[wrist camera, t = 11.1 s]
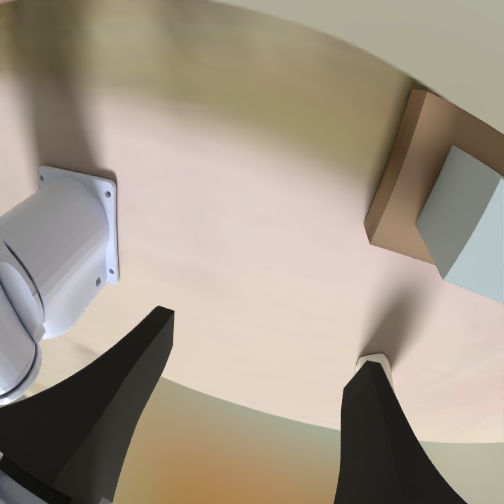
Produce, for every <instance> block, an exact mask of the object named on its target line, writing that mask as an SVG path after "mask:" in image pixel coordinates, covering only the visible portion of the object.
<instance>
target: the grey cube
mask: <svg viewBox="0 0 504 504" xmlns="http://www.w3.org/2000/svg"><path fill="white" fill-rule="evenodd" d="M415 226H416V228H417V230H418V232H419V233H420V235H421V237H422V239H423V241H424V243H425V245H426V247H427V248H428V250H429V252H430V254H431V256H432V258H433V260H434V262H435V264H436V266H437V268H438V271H439V273H440V275H441V277H442V279H443V280H444V281H446V282H449V283H451V284H454V285H457V286H459V287H462V288H465V289H467V290H470V291H472V292H475V293H477V294H480V295H482V296H485V297H487V298H490V299H492V300H495V301H497V302H500V303H502V304H504V177H503V176H502V175H500V174H499V173H497V172H496V171H494V170H493V169H491V168H490V167H488V166H487V165H485V164H484V163H482V162H481V161H479V160H477V159H476V158H474V157H473V156H471V155H469V154H468V153H466V152H464V151H463V150H461V149H459V148H458V147H456V146H454V145H452V147H451V149H450V152H449V154H448V156H447V159H446V161H445V163H444V165H443V168H442V170H441V172H440V174H439V177H438V179H437V181H436V183H435V185H434V187H433V189H432V191H431V193H430V196H429V198H428V200H427V202H426V204H425V206H424V208H423V210H422V212H421V214H420V215H419V217H418V219H417V221H416V223H415Z"/></svg>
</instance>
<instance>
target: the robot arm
mask: <svg viewBox="0 0 504 504" xmlns="http://www.w3.org/2000/svg"><path fill="white" fill-rule="evenodd" d="M43 177H44V178H43ZM38 179H39V191H38V192H36V193H34V194H33V195H31V196H30V197H28V198H27V199H25V200H24V201H22V202H21V203H19V204H18V205H16V206H15V207H14V208H12V209H11V210H9V211H8V212H6V213H5V214H4V215H2V216H1V217H0V405H4V404H7V403H10V402H12V401H14V400H16V399H18V398H19V397H20V396H22V395H23V394H24V393H25V392H26V391H27V390H28V389H29V388H30V386H31V385H32V384H33V382H34V381H35V379H36V377H37V375H38V373H39V370H40V366H41V361H42V352H41V348H40V345H39V343H38V342H39V341H40V340H41V339H51V338H55V337H58V336H60V335H62V334H64V333H66V332H67V331H69V330H70V329H71V328H72V327H73V326H74V325H75V324H76V322H77V321H78V320H79V318H80V317H81V316H82V314H83V313H84V312H85V310H86V309H87V308H88V306H89V305H90V304H91V303H92V301H93V300H94V299H95V297H96V296H97V295H98V293H99V292H100V291H101V290H102V288H103V287H104V286H105V285H106V283H107V282H108V283H110V284H113V285H116V284H117V283H118V282H119V270H118V254H117V232H116V185H115V183H114V182H113V181H112V180H109V179H105V178H100V177H96V176H91V175H87V174H82V173H78V172H73V171H68V170H64V169H59V168H54V167H49V166H44V165H43V166H41V167H39V168H38ZM108 191H109V192H110V194H111V196H110V195H109V194H108ZM174 312H175V311H173V310H170V309H167V308H164V307H161V306H157V307H155V308H154V309H153V310H152V311H151V312H150V313H149V314H148V315H147V316H146V317H145V318H144V319H143V320H142V321H141V322H140V323H139V324H138V325H137V326H136V327H135V328H134V329H133V330H132V331H130V332H129V333H128V334H127V335H126V336H125V337H123V338H122V339H121V340H120V341H119V342H118V343H117V344H115V345H114V346H113V347H112V348H110V349H109V350H108V351H106V352H105V353H104V354H103V355H101V356H100V357H99V358H97V359H96V360H95V361H93V362H92V363H90V364H89V365H88V366H86V367H85V368H83V369H82V370H80V371H78V372H77V373H75V374H74V375H72V376H70V377H69V378H67V379H65V380H63V381H62V382H60V383H58V384H56V385H54V386H53V387H51V388H49V389H46V390H44V391H42V392H40V393H38V394H36V395H33V396H31V397H29V398H27V399H24V400H21V401H18V402H16V403H13V404H10V405H7V406H4V407H1V408H0V452H2V453H3V456H2V455H0V504H99V503H100V504H110V503H112V502H113V498H114V494H115V490H116V486H117V483H118V479H119V476H120V472H121V469H122V466H123V462H124V459H125V456H126V453H127V450H128V447H129V444H130V441H131V438H132V436H133V433H134V430H135V427H136V425H137V422H138V420H139V418H140V415H141V413H142V411H143V409H144V407H145V405H146V403H147V401H148V400H149V398H150V396H151V394H152V392H153V390H154V388H155V386H156V384H157V382H158V380H159V378H160V376H161V374H162V372H163V370H164V368H165V365H166V363H167V360H168V357H169V355H170V352H171V349H172V346H173V331H174ZM334 504H467V503H466V502H465V501H464V500H463V499H462V498H461V497H460V496H459V495H458V494H457V493H456V492H455V491H454V490H453V489H452V488H451V487H450V486H449V484H448V483H447V482H446V481H445V479H444V478H443V477H442V476H441V475H440V474H439V472H438V470H437V469H436V468H435V466H434V465H433V464H432V462H431V461H430V459H429V458H428V456H427V455H426V453H425V451H424V450H423V448H422V447H421V445H420V443H419V441H418V440H417V438H416V436H415V434H414V432H413V430H412V429H411V427H410V425H409V423H408V421H407V419H406V417H405V415H404V413H403V411H402V408H401V406H400V404H399V402H398V400H397V398H396V396H395V393H394V391H393V389H392V387H391V384H390V382H389V380H388V378H387V376H386V373H385V371H384V369H383V367H382V365H381V363H379V362H374V361H368V360H366V362H365V363H364V364H363V365H362V367H361V368H360V369H359V370H358V372H357V373H356V374H355V375H354V377H353V378H352V379H351V380H350V381H349V383H348V384H347V385H346V386H345V387H344V390H343V398H342V406H341V461H340V472H339V478H338V485H337V490H336V495H335V500H334Z"/></svg>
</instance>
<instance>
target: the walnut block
mask: <svg viewBox="0 0 504 504" xmlns="http://www.w3.org/2000/svg"><path fill="white" fill-rule="evenodd" d="M452 145H454V146H456V147H458V148H459V149H461V150H463V151H464V152H466V153H468V154H469V155H471V156H473V157H474V158H476V159H477V160H479V161H481V162H482V163H484V164H485V165H487V166H488V167H490V168H491V169H493V170H494V171H496V172H497V173H499V174H500V175H502V176H503V177H504V135H503V134H502V133H500V132H499V131H497V130H496V129H494V128H493V127H491V126H489V125H488V124H486V123H485V122H483V121H482V120H480V119H478V118H477V117H475V116H473V115H471V114H469V113H468V112H466V111H465V110H463V109H461V108H459V107H457V106H455V105H454V104H452V103H450V102H448V101H446V100H444V99H442V98H440V97H438V96H436V95H434V94H432V93H430V92H428V91H424V90H418V89H411V92H410V95H409V99H408V102H407V105H406V109H405V112H404V115H403V118H402V121H401V125H400V128H399V131H398V134H397V137H396V140H395V143H394V145H393V148H392V151H391V154H390V157H389V160H388V162H387V165H386V168H385V171H384V173H383V176H382V179H381V181H380V184H379V187H378V189H377V192H376V194H375V197H374V200H373V202H372V205H371V207H370V210H369V212H368V214H367V217H366V219H365V222H364V227H365V230H366V233H367V236H368V240H369V243H370V244H371V245H374V246H377V247H380V248H384V249H387V250H390V251H393V252H397V253H400V254H403V255H406V256H409V257H412V258H415V259H419V260H422V261H425V262H428V263H431V264H434V265H436V264H435V262H434V260H433V258H432V256H431V254H430V252H429V250H428V248H427V247H426V245H425V243H424V241H423V239H422V237H421V235H420V233H419V232H418V230H417V228H416V226H415V223H416V221H417V219H418V217H419V215H420V214H421V212H422V210H423V208H424V206H425V204H426V202H427V200H428V198H429V196H430V193H431V191H432V189H433V187H434V185H435V183H436V181H437V179H438V177H439V174H440V172H441V170H442V168H443V165H444V163H445V161H446V159H447V156H448V154H449V152H450V149H451V147H452Z"/></svg>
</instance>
